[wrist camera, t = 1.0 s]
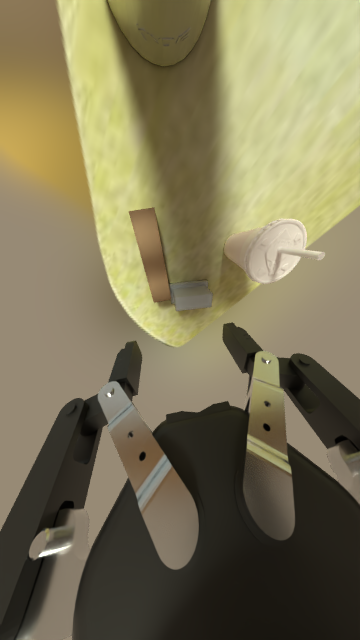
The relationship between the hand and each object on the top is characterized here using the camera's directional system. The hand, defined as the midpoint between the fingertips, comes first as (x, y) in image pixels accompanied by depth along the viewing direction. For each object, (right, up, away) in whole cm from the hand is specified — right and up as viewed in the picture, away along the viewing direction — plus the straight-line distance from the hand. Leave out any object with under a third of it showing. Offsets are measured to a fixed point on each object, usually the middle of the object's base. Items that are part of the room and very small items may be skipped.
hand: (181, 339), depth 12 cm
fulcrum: (+1, +7, +13) cm, 15 cm away
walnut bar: (-4, +12, +10) cm, 16 cm away
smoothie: (+9, +14, +10) cm, 20 cm away
